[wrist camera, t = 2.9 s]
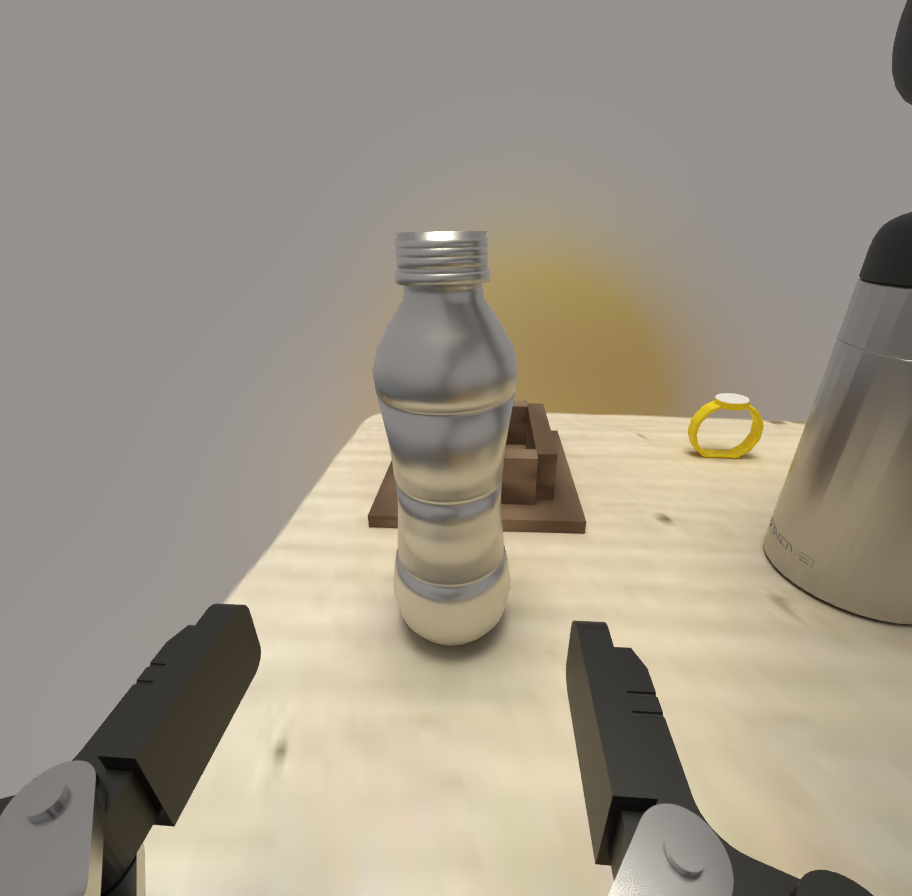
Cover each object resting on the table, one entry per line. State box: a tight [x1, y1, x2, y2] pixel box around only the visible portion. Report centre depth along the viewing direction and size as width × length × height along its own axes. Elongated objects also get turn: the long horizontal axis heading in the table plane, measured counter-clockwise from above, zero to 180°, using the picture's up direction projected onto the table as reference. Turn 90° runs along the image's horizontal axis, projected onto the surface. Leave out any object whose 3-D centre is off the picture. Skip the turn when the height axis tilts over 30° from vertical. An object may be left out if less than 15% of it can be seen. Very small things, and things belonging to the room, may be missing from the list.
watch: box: [688, 393, 764, 459], centre depth 42 cm, size 6×3×6 cm, turn 83°
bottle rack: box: [368, 401, 586, 533], centre depth 39 cm, size 16×16×5 cm
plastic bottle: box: [373, 231, 518, 646], centre depth 21 cm, size 6×7×20 cm
